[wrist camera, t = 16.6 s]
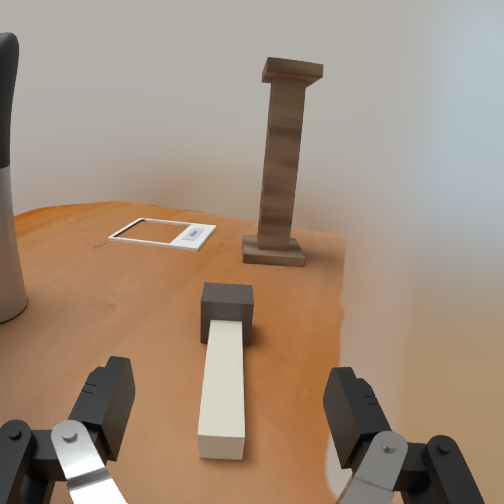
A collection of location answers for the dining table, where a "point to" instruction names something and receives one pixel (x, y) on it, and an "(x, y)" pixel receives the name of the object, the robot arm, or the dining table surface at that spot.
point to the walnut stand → (281, 163)
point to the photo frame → (185, 241)
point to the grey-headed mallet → (224, 369)
